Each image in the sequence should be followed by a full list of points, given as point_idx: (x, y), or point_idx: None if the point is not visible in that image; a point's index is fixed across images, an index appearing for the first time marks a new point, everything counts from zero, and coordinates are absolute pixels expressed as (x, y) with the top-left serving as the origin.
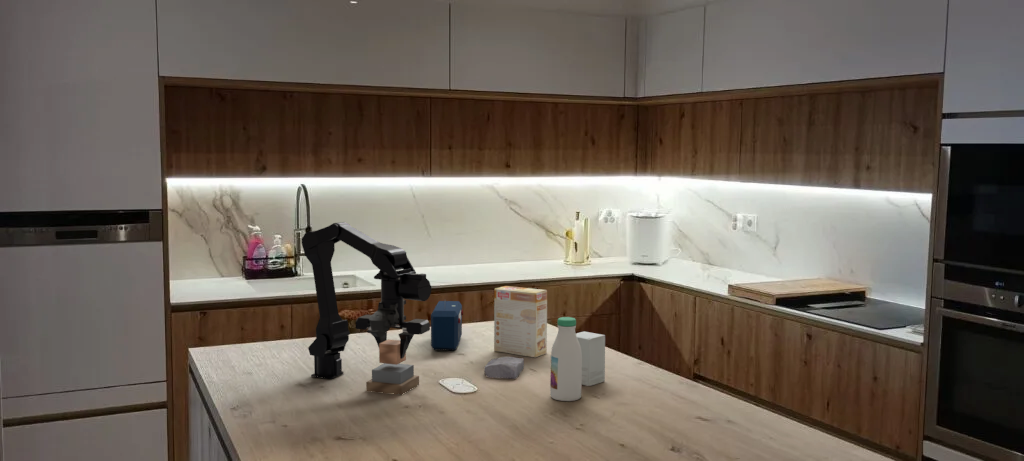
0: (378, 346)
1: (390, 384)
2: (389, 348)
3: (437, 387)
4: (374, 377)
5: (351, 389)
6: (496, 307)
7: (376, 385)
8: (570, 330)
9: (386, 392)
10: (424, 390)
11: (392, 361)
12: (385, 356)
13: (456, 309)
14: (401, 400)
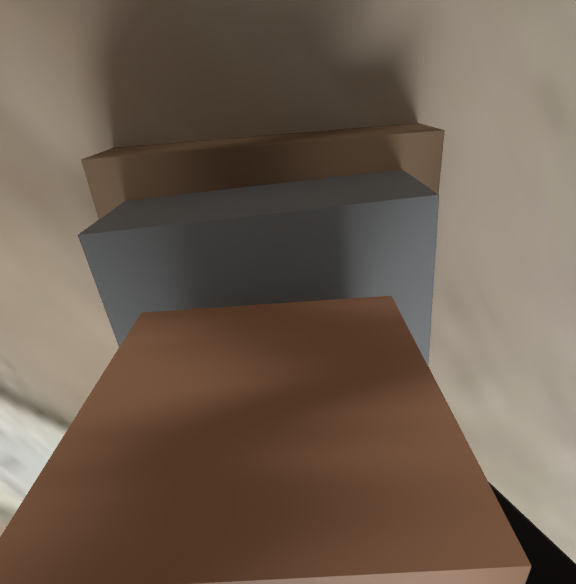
0: (537, 530)
1: (195, 154)
2: (211, 481)
3: (49, 382)
4: (385, 181)
5: (551, 109)
6: None
7: (335, 137)
8: None
9: (241, 138)
10: (65, 307)
11: (197, 328)
12: (305, 355)
13: None
14: (6, 5)
